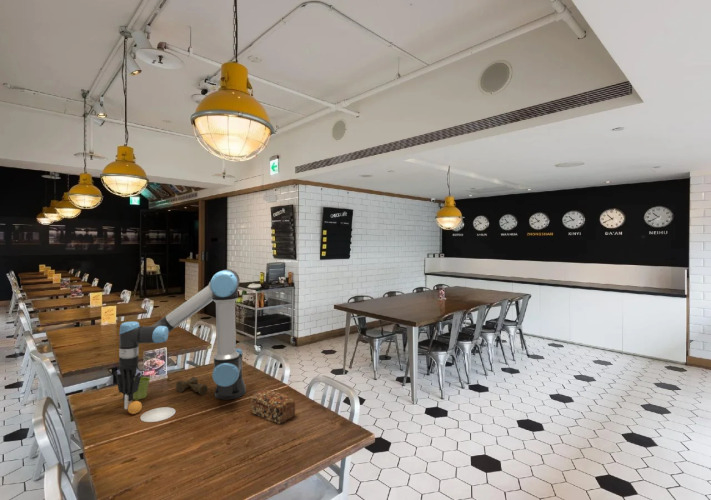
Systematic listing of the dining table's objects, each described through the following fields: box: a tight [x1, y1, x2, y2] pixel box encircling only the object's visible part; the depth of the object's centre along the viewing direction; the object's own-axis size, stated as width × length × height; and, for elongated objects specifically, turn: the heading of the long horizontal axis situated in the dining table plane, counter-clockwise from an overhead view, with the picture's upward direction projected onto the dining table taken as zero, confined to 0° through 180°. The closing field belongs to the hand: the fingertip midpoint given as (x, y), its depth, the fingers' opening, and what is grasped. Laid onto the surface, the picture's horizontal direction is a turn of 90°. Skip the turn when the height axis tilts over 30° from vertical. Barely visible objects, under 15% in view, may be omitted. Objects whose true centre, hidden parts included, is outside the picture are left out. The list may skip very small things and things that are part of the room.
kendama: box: [175, 376, 209, 396], centre depth 192 cm, size 6×10×20 cm
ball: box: [127, 400, 143, 415], centre depth 166 cm, size 6×6×6 cm
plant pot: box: [133, 376, 151, 401], centre depth 183 cm, size 9×9×9 cm
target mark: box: [139, 406, 176, 423], centre depth 165 cm, size 14×14×1 cm
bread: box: [250, 389, 296, 424], centre depth 166 cm, size 19×11×10 cm, turn 56°
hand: (128, 407), depth 166 cm, fingers closed
